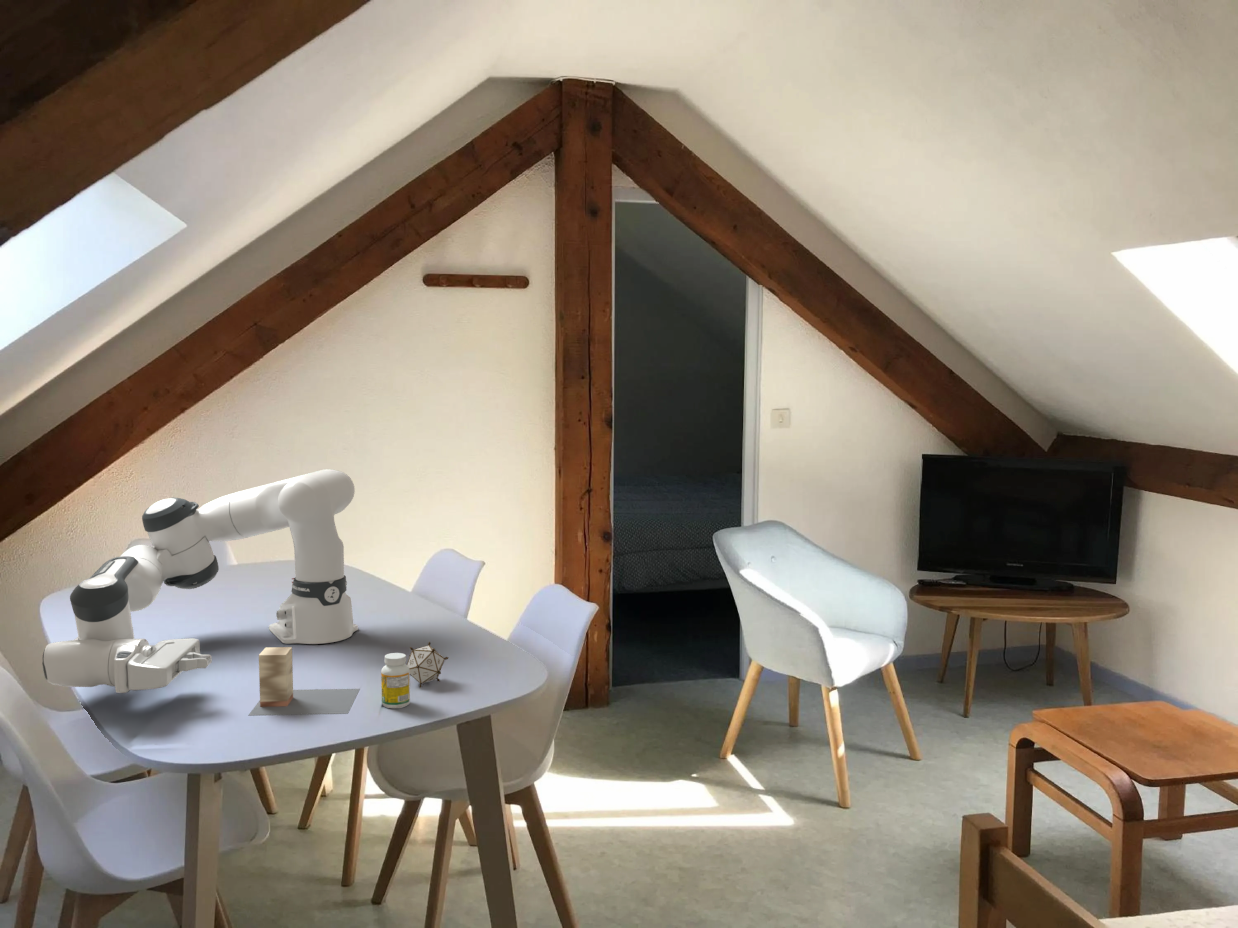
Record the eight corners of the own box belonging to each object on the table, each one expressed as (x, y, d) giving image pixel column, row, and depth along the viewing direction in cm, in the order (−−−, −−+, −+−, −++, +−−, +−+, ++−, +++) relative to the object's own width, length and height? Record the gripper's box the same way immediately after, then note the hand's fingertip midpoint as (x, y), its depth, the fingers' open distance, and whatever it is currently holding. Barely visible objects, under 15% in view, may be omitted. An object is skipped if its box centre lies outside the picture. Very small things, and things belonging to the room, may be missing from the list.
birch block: (260, 706, 197) (258, 655, 196) (266, 697, 202) (265, 647, 201) (287, 706, 197) (286, 654, 196) (293, 697, 202) (291, 647, 201)
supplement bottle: (406, 709, 198) (406, 660, 197) (378, 708, 198) (377, 659, 197) (412, 699, 204) (412, 651, 203) (385, 699, 204) (384, 651, 203)
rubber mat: (248, 718, 193) (248, 715, 192) (267, 693, 206) (267, 690, 206) (347, 716, 194) (347, 713, 194) (359, 691, 208) (359, 688, 208)
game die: (424, 697, 216) (434, 651, 221) (450, 691, 211) (459, 644, 216) (389, 684, 211) (400, 637, 216) (415, 677, 205) (425, 630, 210)
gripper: (154, 661, 207) (226, 660, 208) (113, 696, 187) (192, 695, 188) (153, 630, 206) (225, 630, 208) (111, 662, 186) (191, 660, 187)
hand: (209, 661), depth 198 cm, fingers closed
